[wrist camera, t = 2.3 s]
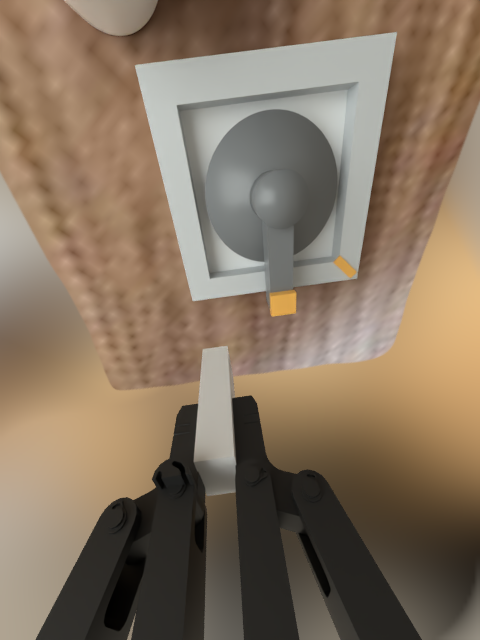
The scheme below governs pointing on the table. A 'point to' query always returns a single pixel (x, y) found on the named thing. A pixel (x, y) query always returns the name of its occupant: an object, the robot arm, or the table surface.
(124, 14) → the candle holder
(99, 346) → the table surface
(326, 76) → the dial panel
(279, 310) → the dial
